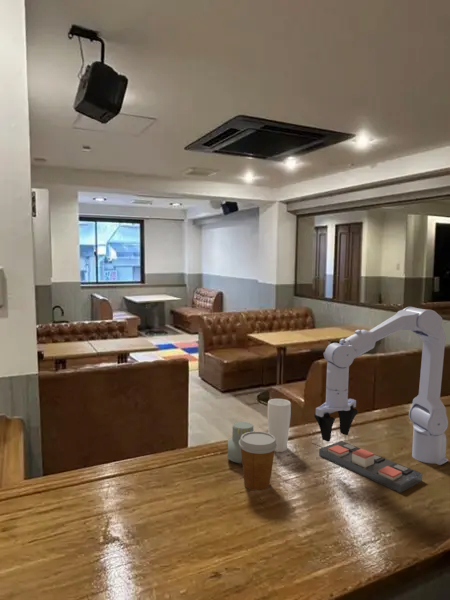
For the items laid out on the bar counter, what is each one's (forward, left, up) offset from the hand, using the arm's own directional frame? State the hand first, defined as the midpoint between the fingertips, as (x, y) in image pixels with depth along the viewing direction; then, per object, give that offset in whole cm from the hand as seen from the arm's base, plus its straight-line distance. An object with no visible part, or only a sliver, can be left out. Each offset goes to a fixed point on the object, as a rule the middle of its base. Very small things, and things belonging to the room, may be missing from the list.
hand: (335, 437), depth 118 cm
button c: (-3, +15, -8) cm, 17 cm away
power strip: (-6, +3, -9) cm, 11 cm away
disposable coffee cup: (+23, -5, -9) cm, 26 cm away
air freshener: (+17, -18, -9) cm, 27 cm away
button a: (-3, -1, -8) cm, 8 cm away
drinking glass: (+5, -16, -9) cm, 19 cm away
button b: (-3, +7, -6) cm, 9 cm away
